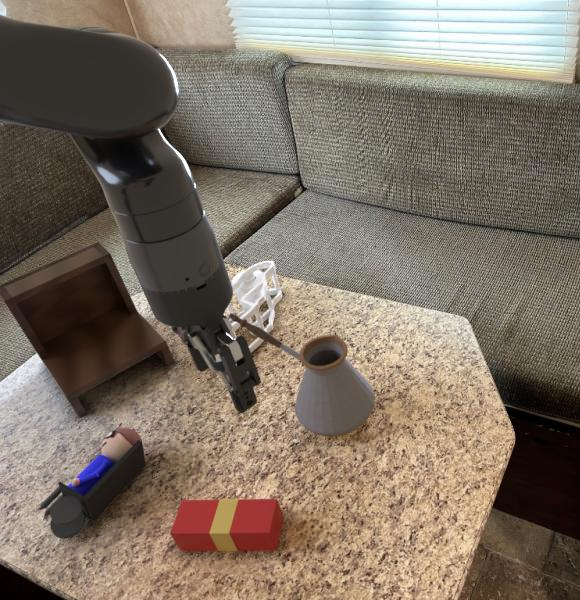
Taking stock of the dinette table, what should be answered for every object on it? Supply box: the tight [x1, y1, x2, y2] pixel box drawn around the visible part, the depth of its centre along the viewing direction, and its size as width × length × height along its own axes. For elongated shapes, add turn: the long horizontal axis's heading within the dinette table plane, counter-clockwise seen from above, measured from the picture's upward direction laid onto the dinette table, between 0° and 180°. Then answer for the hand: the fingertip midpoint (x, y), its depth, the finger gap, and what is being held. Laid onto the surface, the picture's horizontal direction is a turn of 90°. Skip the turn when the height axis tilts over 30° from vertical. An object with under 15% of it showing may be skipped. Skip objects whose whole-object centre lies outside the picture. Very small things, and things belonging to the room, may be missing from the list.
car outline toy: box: [215, 259, 283, 362], centre depth 103 cm, size 20×11×7 cm, turn 150°
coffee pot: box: [227, 311, 376, 438], centre depth 85 cm, size 21×12×15 cm, turn 64°
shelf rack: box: [0, 241, 176, 419], centre depth 95 cm, size 16×16×17 cm
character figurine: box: [39, 427, 147, 540], centre depth 78 cm, size 8×7×15 cm
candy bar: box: [169, 498, 285, 552], centre depth 74 cm, size 12×5×4 cm, turn 87°
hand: (226, 386), depth 65 cm, fingers open, 8 cm apart
